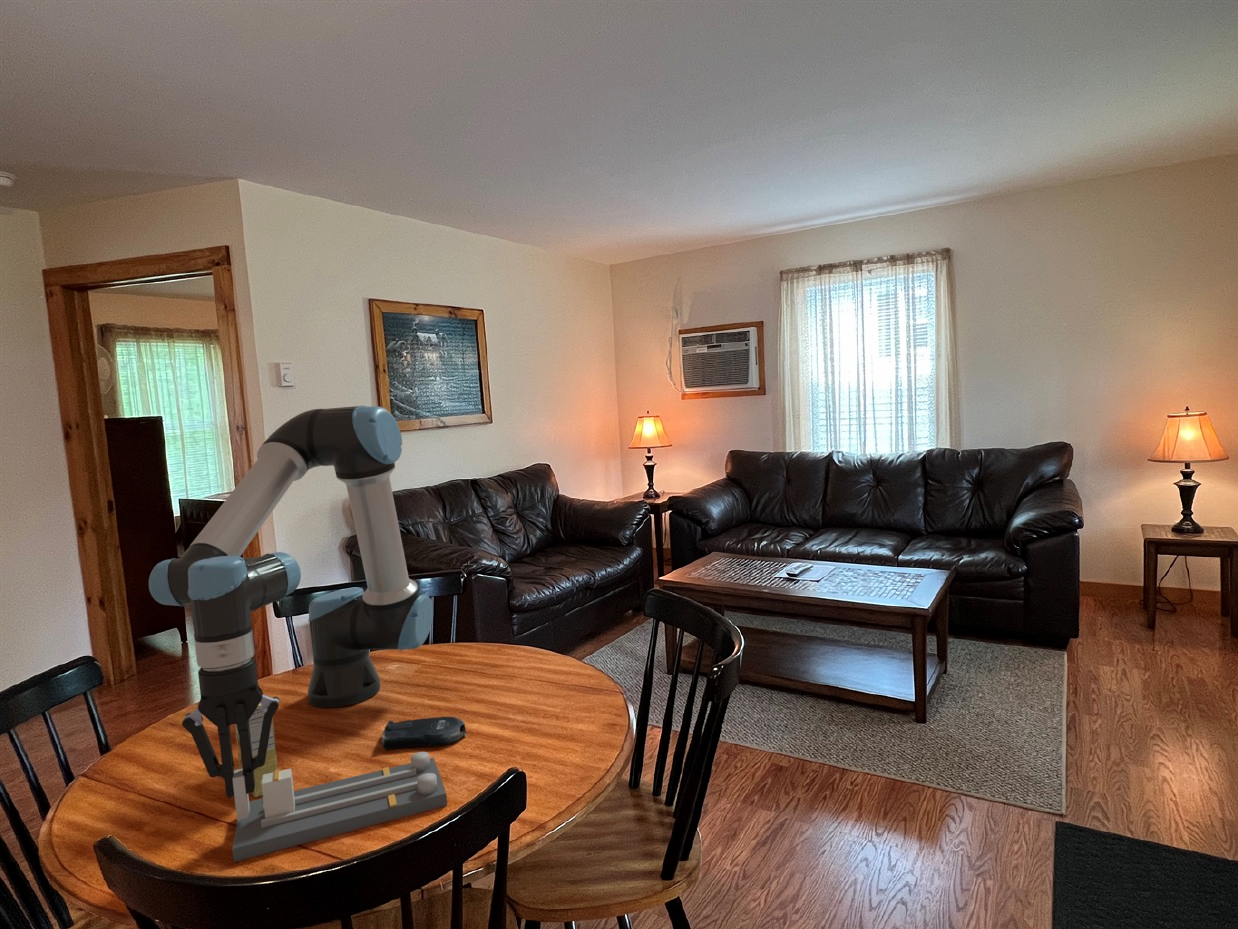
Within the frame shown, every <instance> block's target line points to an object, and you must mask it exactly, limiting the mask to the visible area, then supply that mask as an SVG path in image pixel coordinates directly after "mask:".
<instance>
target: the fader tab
mask: <svg viewBox="0 0 1238 929" xmlns="http://www.w3.org/2000/svg"><path fill="white" fill-rule="evenodd" d="M294 791H295V790H294V780H293V771H292V768H287V769H283V770H280V768H277V770H275V772H273V773H269V774H264V775H263V778H262V792H263V795H262V798H263V802H264V811H265V819H267V818H271V817H275V816H279V815H283V814H287V813H291V812H295V798H294Z"/></svg>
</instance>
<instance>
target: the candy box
mask: <svg viewBox="0 0 1238 929" xmlns="http://www.w3.org/2000/svg"><path fill="white" fill-rule="evenodd" d="M261 708H262V705H261V704H260V703H259V705H258V707H257V708H256V710H255V711H254V713H253V715H252V716H251V718H250V719H249V728H250V737H251V746H252V755H253V758H254V757H256V756H257V754H258V748H259V742H260V736H261V730H262V724H263V718H264V712H262V710H261ZM234 729H235V739H236V748H237V760H238V769H243V767H242V758H241V749H240V740H239V732H238V727H237V724H234ZM275 736H276V735H275V724H274V717H273V718H272V722H271V729H270V735H269V741H268V747H267V753H266V759H265V764H264V765H263V766H262V767H258V768H256V769H255V770H254V777H255V789H254V792H253V793H251V794H252V796H253V797H254V799H255V798H256V799H257V798H259V797H261V796H263V792H262V778H263V775H264V774H269V773H273V772H275V770H277V769H278V758H277V747H276V737H275Z"/></svg>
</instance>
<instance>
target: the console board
mask: <svg viewBox="0 0 1238 929" xmlns="http://www.w3.org/2000/svg"><path fill="white" fill-rule="evenodd" d="M438 769H439V768H438V766H437V763H436V760H435V758H434V757H430V753H429V752H426V751H420V752H419V751H418V752H416V753H414V754H412V755H411V756H410V762H409V763H406V764H401V765H396V766H392V767H389V766H386V767H382V769H381V770H376V771H371V772H368V773H363V774H359V775H356V776H351V777H347V778H342V779H339V780H333V781H330V782H326V783H322V784H317V785H312V786H309V787H305V788H301V789H297V790H294V798H295V812H291V813H287V814H283V815H279V816H275V817H271V818H267V819H265V811H264V802H263V797H262V798H258V799H255V800H254V799H253V800H249V806H250V810H249V816H248V818H245V819H241V820H236V826H235V833H234V838H233V843H232V857H233V858H232V859H233V863H236V862H239V861H243V860H248V859H251V858H254V857H258V856H262V855H266V854H269V853H272V852H277V851H280V850H281V851H282V850H284V849H288V848H292V847H296V846H300V845H304V844H307V843H310V842H315V841H318V840H322V839H326V838H329V837H333V836H334V837H335V836H336V835H337V836H338V835H342V834H345V833H349V832H353V831H357V830H360V829H363V828H367V827H371V826H374V825H378V824H381V823H382V824H383V823H386V822H390V821H394V820H398V819H401V818H404V817H408V816H412V815H416V814H420V813H424V812H428V811H431V810H435V809H438V808H443V807H446V806H448V799H447V791H446V788H445V785H444V783H443V781H442V778H441V774H440V772H439V770H438Z"/></svg>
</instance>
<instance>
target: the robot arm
mask: <svg viewBox="0 0 1238 929" xmlns="http://www.w3.org/2000/svg"><path fill="white" fill-rule="evenodd" d="M402 445H403V438H402V432H401V428H400V426H399V423H398V421H397V420H396V418H395V417H394V415H393V414H392V413H391V412H389V411H388V409H386V408H384V407H382V406H377V405H376V406H369V405H367V406H366V405H357V406H356V405H355V406H344V407H332V408H316V409H314V408H313V409H310V410H306V411H303V412H301V413H299V414H297V415H295V416H293V417H292V418H290V419H289V420H288V421H285V422H284V423H283V424H281V425H280V426H279V427H278V428H277V429H276V430H275V431H274V432H272V433H271V434H270V435H269V436H268V437H267V439H266V440H265V441H264V442H263V443H262V445H261V446H260V447H259V448H258V450H257V453H256V456H257V458H256V461H255V462H254V464H253V465H252V466H251V467H250V469H249V470H248V471H247V472H246V474H245V475H244V476H243V477H242V478H241V480H240V481H239V482H238V484H237V485H236V486H235V488H234V489H233V490H232V491H231V493H230V494H229V495H228V496H227V498H225V500H224V502H223V503H222V504H221V505H220V507H218V509H217V511H216V512H215V513H214V515H212V517H211V518H210V520H208V522H207V524H206V525H205V526H204V527H203V529H202V530H201V531H200V532H199V533H198V535H197V536H196V537H195V538H194V540H193V541H192V542H191V543H190V545H189V547H188V548H187V549H186V550H185V551H184V553H183V554H182V556H181V557H179V558H176V557H175V558H171V559H170V558H169V559H165V560H162V561H160V562H158V563H157V564H156V565H155V566H154V567H153V569H151V570H152V571H151V572H150V575H149V578H148V590H149V593H150V595H151V597H152V598H153V600H154V601H155V602H157V603H158V604H161V605H165V606H178V607H187V606H189V607H190V611H191V618H192V620H191V621H192V626H193V637H194V647H195V657H196V664H197V666H198V667H199V670H198V672H197V675H198V683H199V691H200V694H199V695H200V698H199V699H200V700H199V702H198V704H197V708H196V709H194V710H193V711H192V712H188V713H186V714H185V715H184V718H183V720H182V722H181V726H182V727H183V728H184V729H185V730H186V731H187V732H188V733H189V734H190V735H191V737H192V739H193V741H194V744H195V746H196V748H197V750H198V752H199V755H200V757H201V759H202V761H203V762H202V763H203V765H204V767H205V769H206V771H207V774H208V776H209V777H210V778H214V779H215V778H216V777H219V778H222V779H223V780H224V789H225V796H226V798H227V799H232V798H234V806H235V814H236V821H238V820H241V819H245V818H248V816H249V810H250V806H249V801H250V797H249V794H252V793H253V792H254V789H255V777H254V770H255V769H256V768H258V767H262V766H263V765H264V764H265V759H266V753H267V747H268V741H269V735H270V729H271V722H272V718H273V719H274V716H275V714H276V712H277V710H278V709H279V705H280V698H279V697H278V696H273V697H270V696H267V695H264V692H263V690H262V688H261V687H260V685H259V681H258V672H257V671H258V670H257V662H256V659H255V658H253V657H254V655H255V654H256V653H255V652H256V651H255V642H254V631H253V626H252V624H253V623H252V614H251V613H253V612H255V611H256V610H259V609H260V608H263V607H265V606H267V605H271V604H272V603H275V602H278V601H281V600H283V599H284V598H286V597H287V596H289V595H290V594H292V593H293V592H295V590H297V588H298V587H299V585H300V583H301V580H302V579H301V578H302V572H301V567H300V566H299V563H298V562H297V560H296V559H295V558H294V557H293V556H292V555H290V554H288V553H287V552H284V551H283V552H282V551H277V552H272V553H268V552H267V553H265V554H264V555H261V556H258V557H241V556H242V554H244V552H245V550H246V549H247V547H248V546H249V545H250V543H251V542H252V540H253V539H254V537H255V536H257V533H258V532H259V530H260V529H261V527H262V526H263V525H264V524H265V522H266V521H267V519H268V518H269V517H270V515H271V514H272V513H273V511H274V509H275V508H276V506H278V504H279V502H280V501H281V500H282V498H283V497H284V495H285V494H286V493H287V491H288V490H289V488H290V487H291V485H292V484H293V483H294V482H296V481H298V480H301V479H303V477H304V476H305V475H306V473H307V472H308V471H309V470H311V469H313V468H316V467H323V466H324V467H328V466H329V467H334V472H335V477H336V479H337V480H338V481H341V482H342V483H343V484H345V486H346V490H347V495H348V498H349V505H350V508H351V509H350V510H351V515H352V518H353V519H352V520H353V523H354V528H355V529H354V530H355V532H356V537H357V538H356V539H357V543H358V547H359V551H360V552H359V554H360V556H361V561H362V567H363V571H364V575H365V576H364V577H365V580H366V585H367V588H366V589H365V591H364V589H363V588H362V587H357V586H356V587H349V588H343V589H338V590H334V591H332V592H327V593H326V594H322V595H319V596H318V597H317V596H316V597H315V598H313V600H311V602H310V603H309V605H308V620H307V621H308V622H309V634H310V641H311V649H312V650H311V652H312V660H313V667H312V672H311V677H310V680H309V684H308V688H307V700H308V703H309V705H311V706H313V707H317V708H324V709H325V708H326V709H327V708H339V707H345V706H346V707H347V706H351V705H354V704H358V703H360V702H364V701H367V700H369V699H370V698H372V697H373V696H376V695H377V693H379V691H380V689H381V681H380V676H379V674H378V671H377V670H376V667H375V665H374V663H373V660H372V659H371V657H370V651H372V650H373V651H374V650H376V651H378V650H381V651H383V650H390V651H391V650H395V651H397V650H398V651H405V650H416V649H418V648H420V647H421V646H422V645H423V644H424V643H425V641H426V640H427V638H428V635H429V634H430V631H431V627H432V622H433V615H434V614H433V613H434V612H433V611H434V608H433V602H432V599H431V598H430V597H429V596H428V595H426V594H423V593H422V594H420V592H419V591H420V590H419V587H418V583H417V582H416V581H415V580H414V579H411V578H409V572H408V569H407V568H408V567H407V562H406V557H405V549H404V547H403V542H402V540H403V539H402V537H401V530H400V526H399V525H400V524H399V519H398V515H397V514H398V513H397V509H396V504H395V500H394V495H393V494H394V493H393V489H392V482H391V479H390V476H391V474H392V472H394V470H395V469H396V465H395V464H396V462H397V461H399V459H400V457H401V454H402V451H403V449H402ZM259 703H260V704H261V705H262V708H261V710H262V712H264V718H263V724H262V730H261V736H260V742H259V748H258V754H257V756H256V757H254V758H253V755H252V746H251V737H250V728H249V719H250V718H251V716H252V715H253V713H254V711H255V710H256V708H257V707H258V705H259ZM203 716H204V717H205V718H206V719H207V720H208V721H209V722H210V723H211V724H213V725H215V726H216V727H217V735H218V740H219V750H220V756H221V758H220V760H221V763H220V762H219V759H218V756H217V754H216V751H215V750H214V747H213V745H212V742H211V740H210V737H209V735H208V733H207V730H206V728H205V726H204V724H203V722H204V717H203ZM235 724H237V727H238V732H239V740H240V749H241V758H242V767H243V769H239V768H237V769H235V762H234V761H235V760H234V753H233V752H234V751H233V743H232V736H231V735H232V734H231V726H232V725H235Z"/></svg>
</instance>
